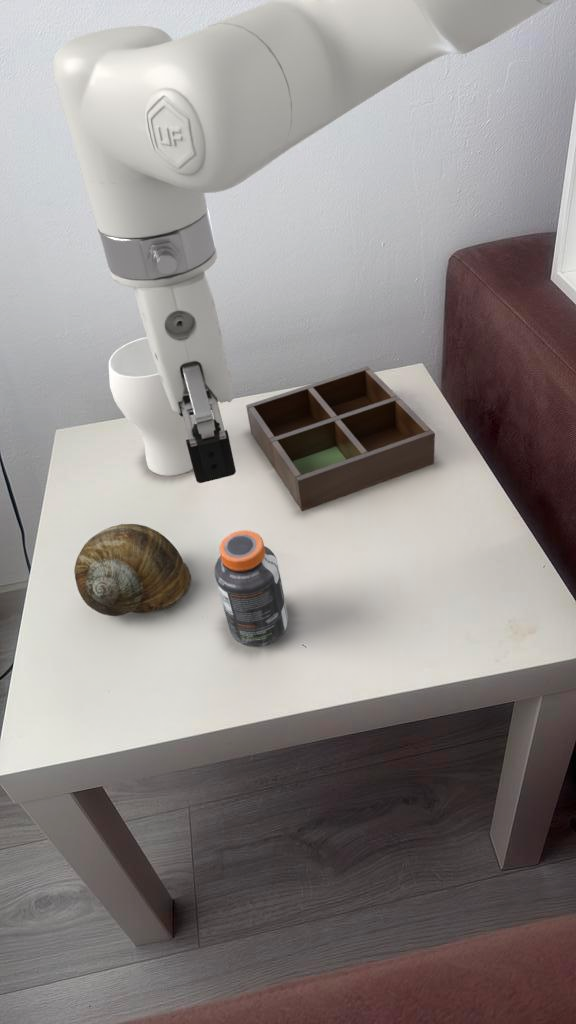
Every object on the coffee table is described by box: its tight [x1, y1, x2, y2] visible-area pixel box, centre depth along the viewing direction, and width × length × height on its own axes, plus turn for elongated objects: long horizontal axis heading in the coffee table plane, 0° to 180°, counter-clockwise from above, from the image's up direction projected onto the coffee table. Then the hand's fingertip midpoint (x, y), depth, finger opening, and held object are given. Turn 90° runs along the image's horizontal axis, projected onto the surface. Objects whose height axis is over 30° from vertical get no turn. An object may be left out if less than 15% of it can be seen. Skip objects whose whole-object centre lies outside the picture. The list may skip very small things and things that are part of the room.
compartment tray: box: [245, 365, 436, 512], centre depth 91 cm, size 17×17×5 cm
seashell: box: [73, 523, 192, 617], centre depth 76 cm, size 11×9×8 cm
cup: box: [108, 336, 196, 477], centre depth 90 cm, size 11×11×15 cm
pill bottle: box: [214, 530, 289, 648], centre depth 70 cm, size 6×6×11 cm
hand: (206, 442), depth 62 cm, fingers open, 9 cm apart
